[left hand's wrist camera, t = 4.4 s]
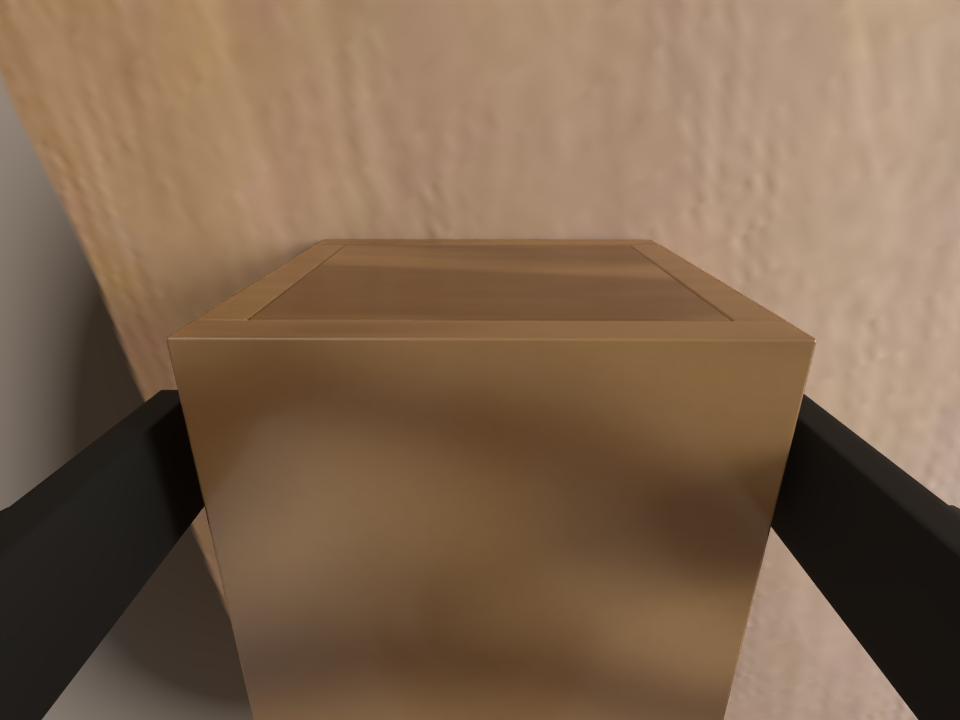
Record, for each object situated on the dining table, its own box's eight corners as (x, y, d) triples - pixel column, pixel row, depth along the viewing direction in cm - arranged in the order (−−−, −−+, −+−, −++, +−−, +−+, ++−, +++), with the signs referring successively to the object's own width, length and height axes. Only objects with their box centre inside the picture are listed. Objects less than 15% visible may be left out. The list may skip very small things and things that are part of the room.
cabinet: (608, 614, 25) (681, 893, 16) (362, 613, 25) (291, 889, 16) (652, 239, 19) (819, 338, 9) (322, 238, 19) (164, 337, 9)
